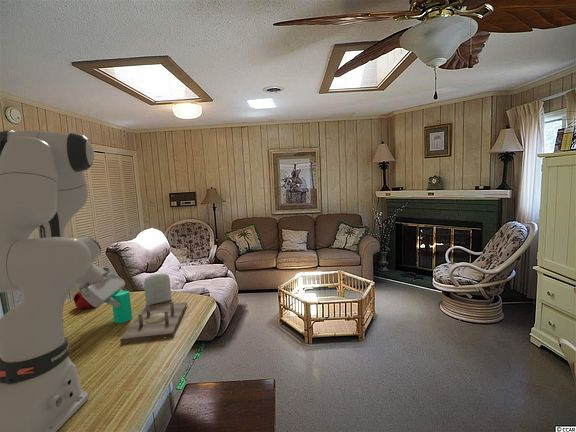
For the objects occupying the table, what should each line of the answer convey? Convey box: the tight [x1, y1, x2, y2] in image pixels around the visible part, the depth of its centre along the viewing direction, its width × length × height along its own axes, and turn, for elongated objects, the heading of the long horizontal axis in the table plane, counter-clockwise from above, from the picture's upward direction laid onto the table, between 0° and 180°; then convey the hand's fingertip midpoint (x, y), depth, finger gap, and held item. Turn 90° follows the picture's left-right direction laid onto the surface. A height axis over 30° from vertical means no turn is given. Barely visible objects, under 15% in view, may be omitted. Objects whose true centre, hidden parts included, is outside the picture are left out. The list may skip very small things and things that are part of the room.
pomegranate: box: [72, 290, 95, 310], centre depth 128 cm, size 10×10×9 cm
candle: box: [111, 290, 133, 324], centre depth 112 cm, size 6×6×12 cm
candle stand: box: [119, 301, 188, 344], centre depth 109 cm, size 26×16×6 cm, turn 9°
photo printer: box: [143, 273, 172, 306], centre depth 128 cm, size 10×4×12 cm, turn 123°
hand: (123, 302), depth 112 cm, fingers closed on candle, 5 cm apart
